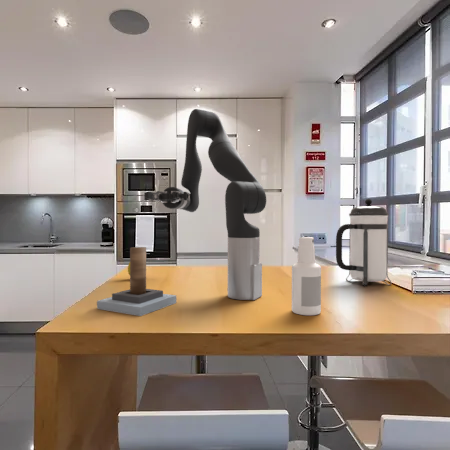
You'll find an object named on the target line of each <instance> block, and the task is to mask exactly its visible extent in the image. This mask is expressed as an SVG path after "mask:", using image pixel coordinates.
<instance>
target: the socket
mask: <svg viewBox="0 0 450 450" xmlns="http://www.w3.org/2000/svg"><path fill="white" fill-rule="evenodd" d="M176 303H177V295H175V294H170V293H169V294H168V293H164V291H163V290H160V289H159V290H158V289H152V288H151V289H150V288H146V293H145V294H141V295H134V294H130V288H129V289H125V290H122V291H119V292H115V293H111V296H110V297H106V298H104V299H99V300H97V301H96V309H97V310H102V311H108V312H113V313H120V314H127V315H132V316H138V317H142V316H145V315H148V314H150V313H153V312H156V311H158V310H161V309H163V308H166V307H169V306H171V305H172V306H173V305H174V304H176Z"/></svg>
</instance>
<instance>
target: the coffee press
mask: <svg viewBox="0 0 450 450" xmlns="http://www.w3.org/2000/svg"><path fill="white" fill-rule="evenodd" d="M372 202H373V201H372V199H370V198H367V199H365V201H364V203H365V205H363V206H361V205H360V206H356V207H353V208H352V209H351V211H350V212H349V213H348V216H349V218H350V220H349V221H350V222H349V223H350V224H349V223H346V224H343V225H341V226H339V228H338V230H337V231H336V237H335V257H336V258H335V260H336V264H337V266H338V267H339V268H340V269H341V270H344V271H349V272H348V276H347V277H346V278H345V281H346V282H347V281H349V282H350V281H352V280H355V281H356V280H357V281H360V282H361V281H362V287H368V284H369V282H370V283H371V282H373V283H375V282H377V283H378V282H383V283H385V285H386V286H391V285H392V281H391V279H390V277H389V276H388V275H389V274H388V273H389V269H388V267H389V265H388V263H389V260H388V259H389V257H388V256H389V250H388V249H389V224H388V219H389V218H388V217H389V213H388V211H387V208H385V207H383V206H379V205H372ZM347 230H349V258H348V259H349V265H348V264H345V263H344V262H343V234H344V232H345V231H347ZM349 276H350V277H351V279H350V280H348V278H349ZM386 279H388V281H389V282H390V284H389V283H387V281H386Z"/></svg>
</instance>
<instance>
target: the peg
mask: <svg viewBox="0 0 450 450" xmlns="http://www.w3.org/2000/svg"><path fill="white" fill-rule="evenodd" d="M129 263H130V275H129V289H130V294H134V295H141V294H145V293H146V289H147V247H145V246H138V247H137V246H136V247H134V246H133V247H129Z"/></svg>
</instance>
